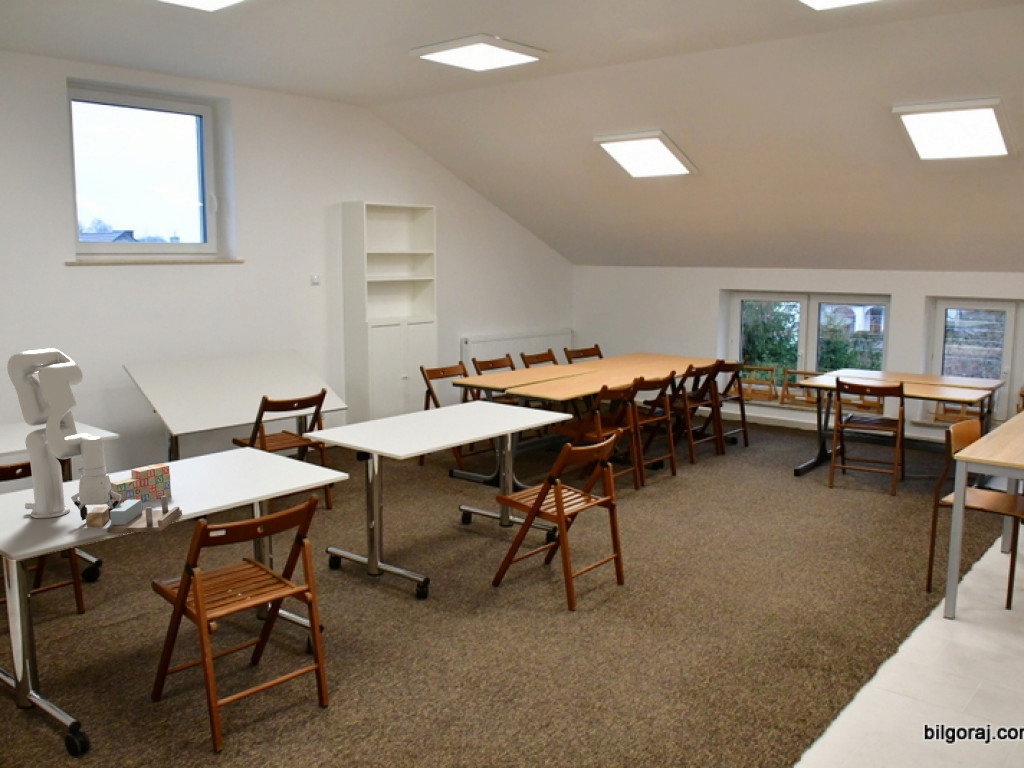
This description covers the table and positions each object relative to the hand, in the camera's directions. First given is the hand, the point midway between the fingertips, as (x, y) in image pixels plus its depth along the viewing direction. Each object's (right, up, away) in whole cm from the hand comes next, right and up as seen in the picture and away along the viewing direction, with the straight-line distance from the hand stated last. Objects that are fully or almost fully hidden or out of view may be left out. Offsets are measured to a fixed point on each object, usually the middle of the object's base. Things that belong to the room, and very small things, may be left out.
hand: (98, 518), depth 303 cm
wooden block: (0, -2, 0) cm, 2 cm away
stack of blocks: (+3, +2, +28) cm, 28 cm away
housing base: (+17, -1, -1) cm, 17 cm away
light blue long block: (+10, 0, -1) cm, 10 cm away
